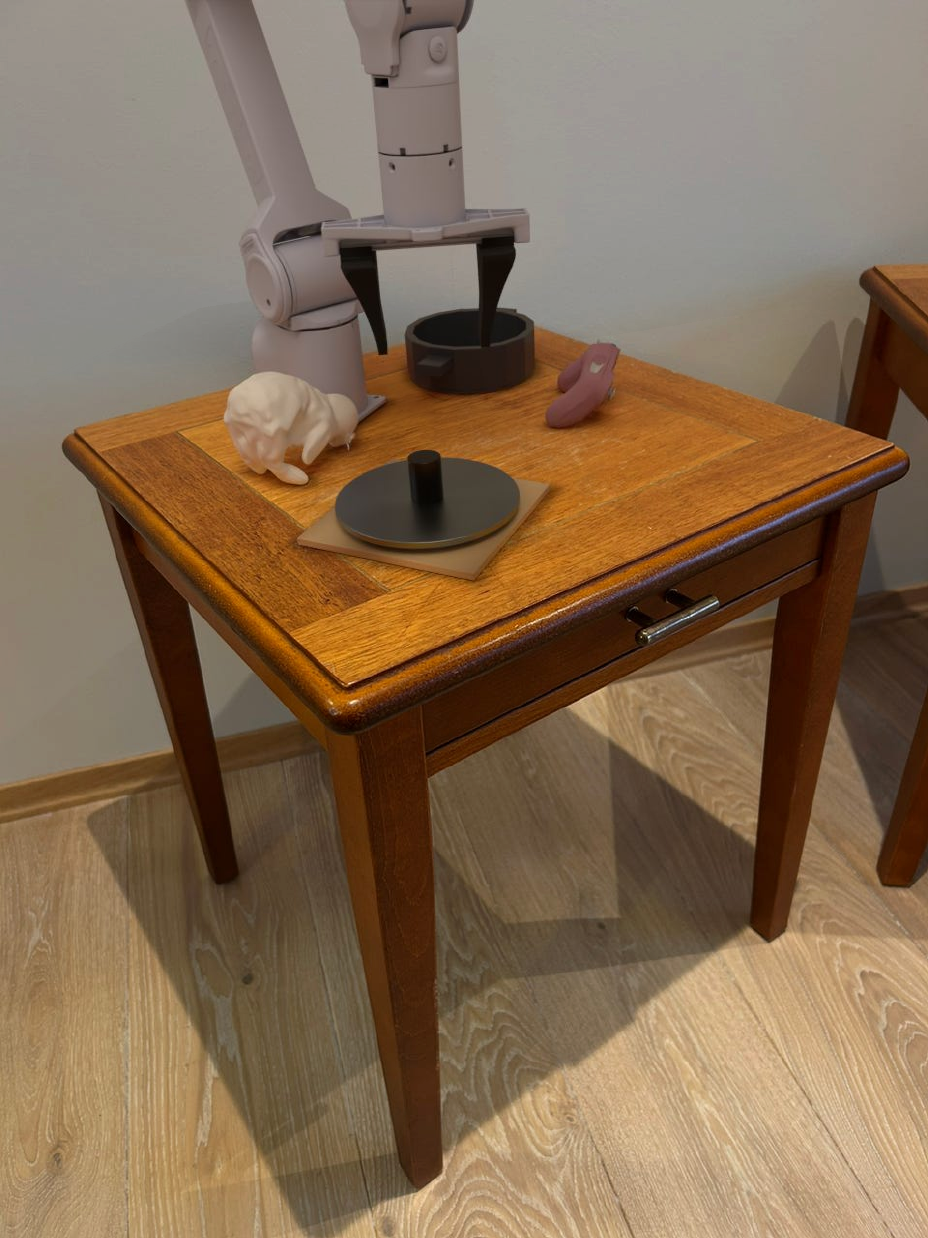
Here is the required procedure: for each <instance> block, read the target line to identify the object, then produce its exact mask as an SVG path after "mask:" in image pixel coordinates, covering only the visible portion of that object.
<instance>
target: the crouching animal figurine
mask: <svg viewBox="0 0 928 1238" xmlns="http://www.w3.org/2000/svg"><path fill="white" fill-rule="evenodd" d="M226 401H227V402H226V409H225V411H224V414H223V421H222V422H223V423H224V425H225V426H226V428H227V430H228V433H229V435H230V438H231V440H232V444H233V445H234V447H235V449H236V450H237V452H238V454H239V456H240V457H241V459H242V460H243V461H242V462H243V463H244V464H245V465H246V466H247V467H248V468H250V469H251V470H252V471H253V472H255V473H257V474H260V475H263V474H264V473H266V472H267V471H268V470H269V471H270V473H272V474H273V475H274V476H275V477H277V478H278V479H279V480H280V481H282V482H284V483H287V484H293V485H298V486H299V485H301V486H302V485H305V484H307V483H308V481H309V477H308V475H307V473H305V471H303V470H301V468H299V467H297V466H295V465H294V464H291V463H286V462H284V461H285V454H286V451H287V450H288V449H289V448H290V447H291V448H299V447H301V448H303V449H302V452H301V460H302V463H304V464H305V465H308V466H309V465H311V464H312V463H313V461H315V459H316V458H317V457H318V456H319V455H320V454H321V452H322V451H323V450H324V449H325V447H326V446H327V445H328V444H329V445H330V446H331V447H332V448H338V447H339V446H344V447H346V446H347V450H348V451H350V446H351V445H352V443H351V442H352V440H353V439H354V438H355V437H356V432H355V430H356V428H357V427H358V424H359V422H358V412H357V409H356V407H355V405H354V404H353V402H352V401H351V400H350V399H349V398H348V397H346V396H344V395H341V394H324V393H321V392H320V391H319V390H318V389H316V388H314V387H312V386H310V385H309V383H307V382H305V381H303V380H301V379H299V378H296V377H293V376H290V375H285V374H282V373H278V372H262V373H258V374H256V373H254V374H252V375H251V376H250V377H248V378H247V379H244V380H243V381H241V383H239V384H237V385H235V386H234V387H233V388H231V390H230V392H229V395H228V397H227V400H226ZM351 448H352V446H351Z"/></svg>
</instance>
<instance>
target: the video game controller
mask: <svg viewBox="0 0 928 1238" xmlns="http://www.w3.org/2000/svg"><path fill="white" fill-rule="evenodd" d="M620 353H621V348H619V347H618V346H617V344H615V343H614V342H613V343H611V342H609V341H606V342H602V341H601V340H600V339H599V338H598V339H597V342H596V343H593V344H591V345H590V346H589V347H588V348H587V349H586V350H585V351H584V352H583V354H582V355H580V356H579V357H578V358H576V359H575V360H574V361H573V362H571V363H569V364H568V365H566V366H565V367H564V368H563V369H562V370H561V372H560V373H559V375H558V376H557V381H556V382H557V383H556V384H557V388H558V389H559V390H560V391H561V392H564V393H563V394H561V396H559V397H558V398H556V399H555V400H554V401H552V403H551V404H549V406H548V407H547V409H546V411H545V416H544V418H545V422H546V423H547V425H548V426H549V427H552V428H553V429H555V428H565V427H569V426H572V425H574V424H576V423H578V422H580V421H581V420H583V419H585V418H588V419H590V418H591V416H592V415H593V414H594V412H595V410H597V409H599V407H600V406H601V404H602V403H603V401H605V400H606V399H607V401H608V402H609V401H611V400H612V399H613V398H614V397H615V396H616V387H613V381H614V378H615V375H616V374H615V373H616V372H614V369H615V367H616V364H617V360H618V358H619V356H620ZM612 388H613V389H612Z"/></svg>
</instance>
